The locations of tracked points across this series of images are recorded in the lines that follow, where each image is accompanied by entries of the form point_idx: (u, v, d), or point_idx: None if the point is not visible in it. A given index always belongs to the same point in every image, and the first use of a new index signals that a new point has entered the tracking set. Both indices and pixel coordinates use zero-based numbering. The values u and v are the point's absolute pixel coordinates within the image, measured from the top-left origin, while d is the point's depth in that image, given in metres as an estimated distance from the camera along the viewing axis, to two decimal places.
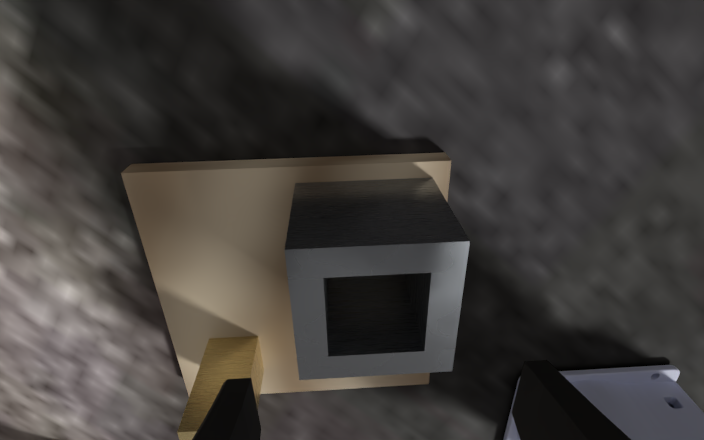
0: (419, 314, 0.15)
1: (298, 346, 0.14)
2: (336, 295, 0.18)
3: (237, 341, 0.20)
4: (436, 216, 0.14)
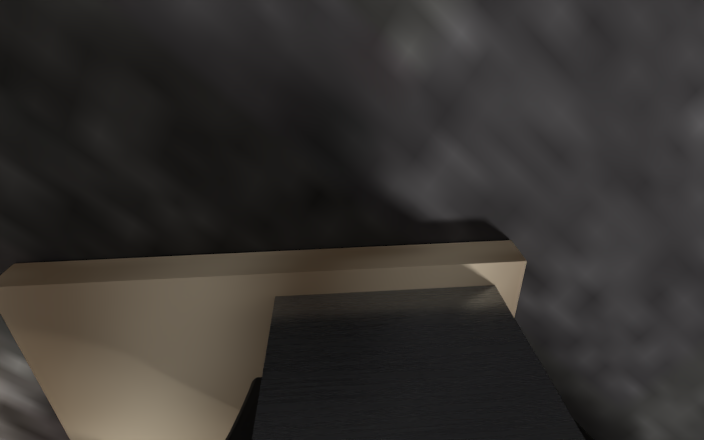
0: None
1: None
2: None
3: None
4: (526, 398, 0.08)
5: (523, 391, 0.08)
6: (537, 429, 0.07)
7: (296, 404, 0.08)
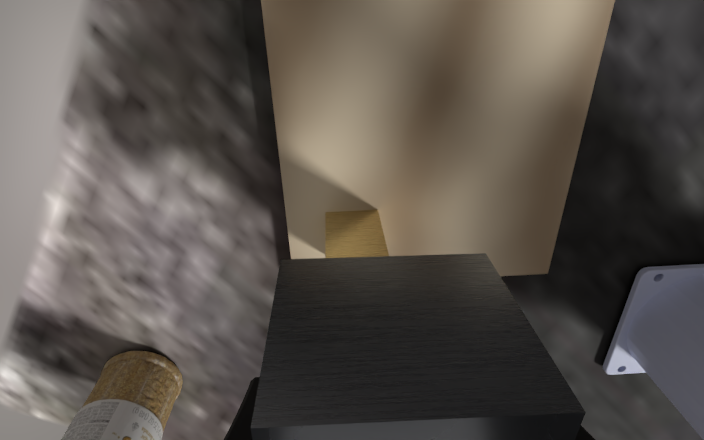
0: None
1: None
2: None
3: (357, 213, 0.19)
4: (510, 342, 0.08)
5: (508, 337, 0.09)
6: (519, 366, 0.08)
7: (301, 344, 0.08)
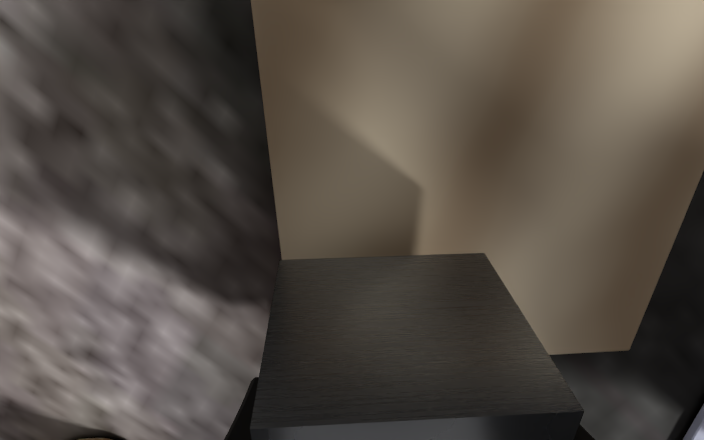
0: None
1: None
2: None
3: None
4: (510, 341, 0.08)
5: (507, 336, 0.09)
6: (518, 365, 0.08)
7: (300, 345, 0.08)
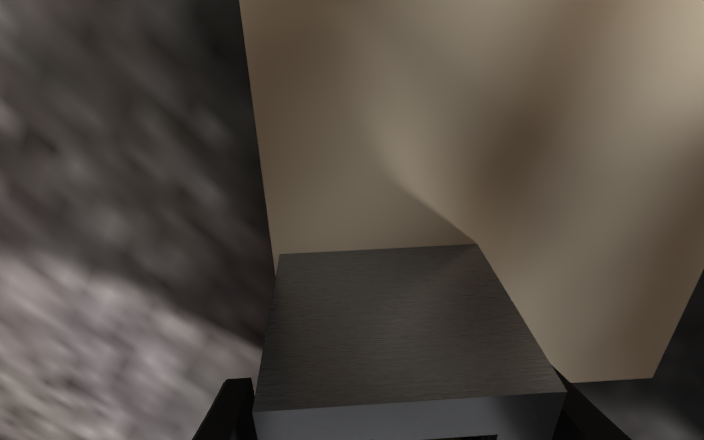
0: None
1: None
2: None
3: None
4: (499, 328, 0.09)
5: (496, 323, 0.09)
6: (506, 350, 0.08)
7: (299, 334, 0.09)
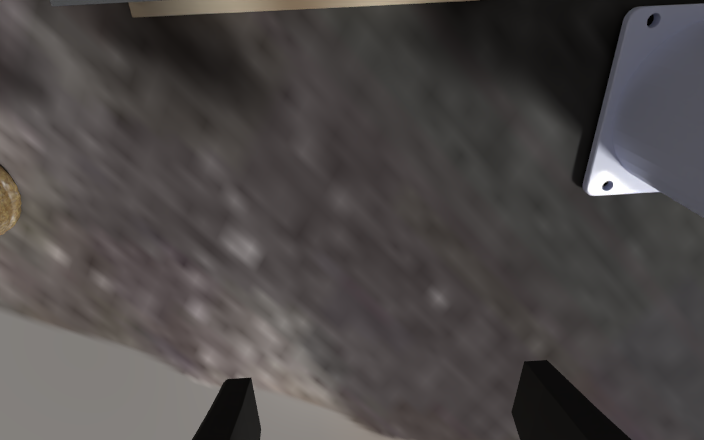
0: None
1: None
2: None
3: None
4: None
5: None
6: None
7: None
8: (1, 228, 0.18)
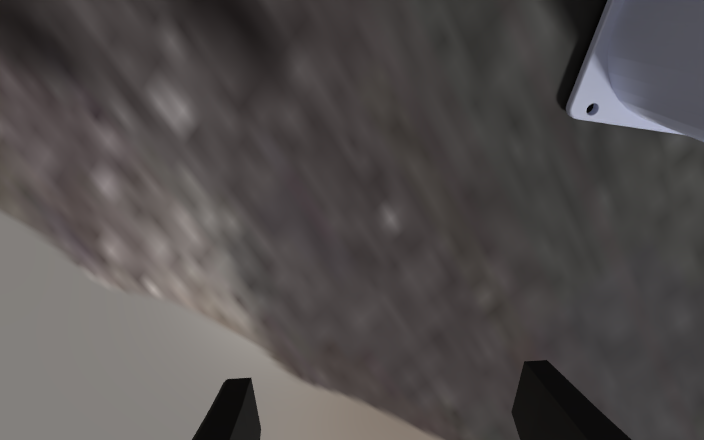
0: None
1: None
2: None
3: None
4: None
5: None
6: None
7: None
8: None
